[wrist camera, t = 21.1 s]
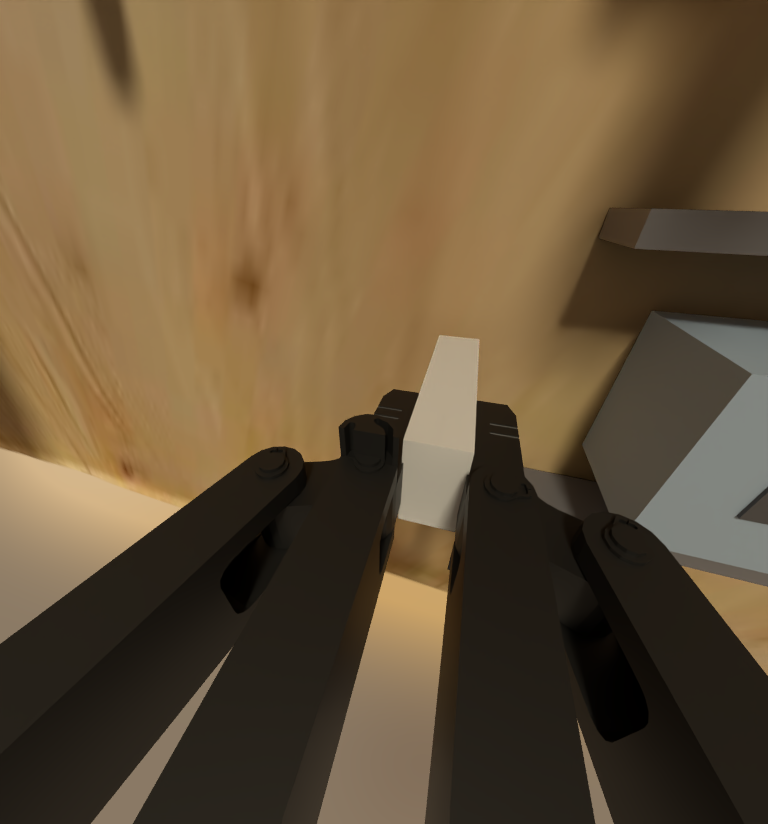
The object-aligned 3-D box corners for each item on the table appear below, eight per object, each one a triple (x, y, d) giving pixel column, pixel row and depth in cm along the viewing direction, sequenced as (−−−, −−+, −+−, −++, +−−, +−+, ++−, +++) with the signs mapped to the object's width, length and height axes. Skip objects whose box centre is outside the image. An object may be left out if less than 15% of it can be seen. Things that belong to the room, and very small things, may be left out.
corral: (510, 476, 16) (513, 524, 13) (609, 207, 9) (651, 208, 7) (788, 535, 13) (853, 607, 11) (1197, 224, 7) (1590, 234, 4)
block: (581, 443, 14) (620, 542, 10) (650, 309, 10) (755, 376, 6) (740, 471, 13) (861, 598, 8) (878, 330, 9) (1189, 429, 5)
